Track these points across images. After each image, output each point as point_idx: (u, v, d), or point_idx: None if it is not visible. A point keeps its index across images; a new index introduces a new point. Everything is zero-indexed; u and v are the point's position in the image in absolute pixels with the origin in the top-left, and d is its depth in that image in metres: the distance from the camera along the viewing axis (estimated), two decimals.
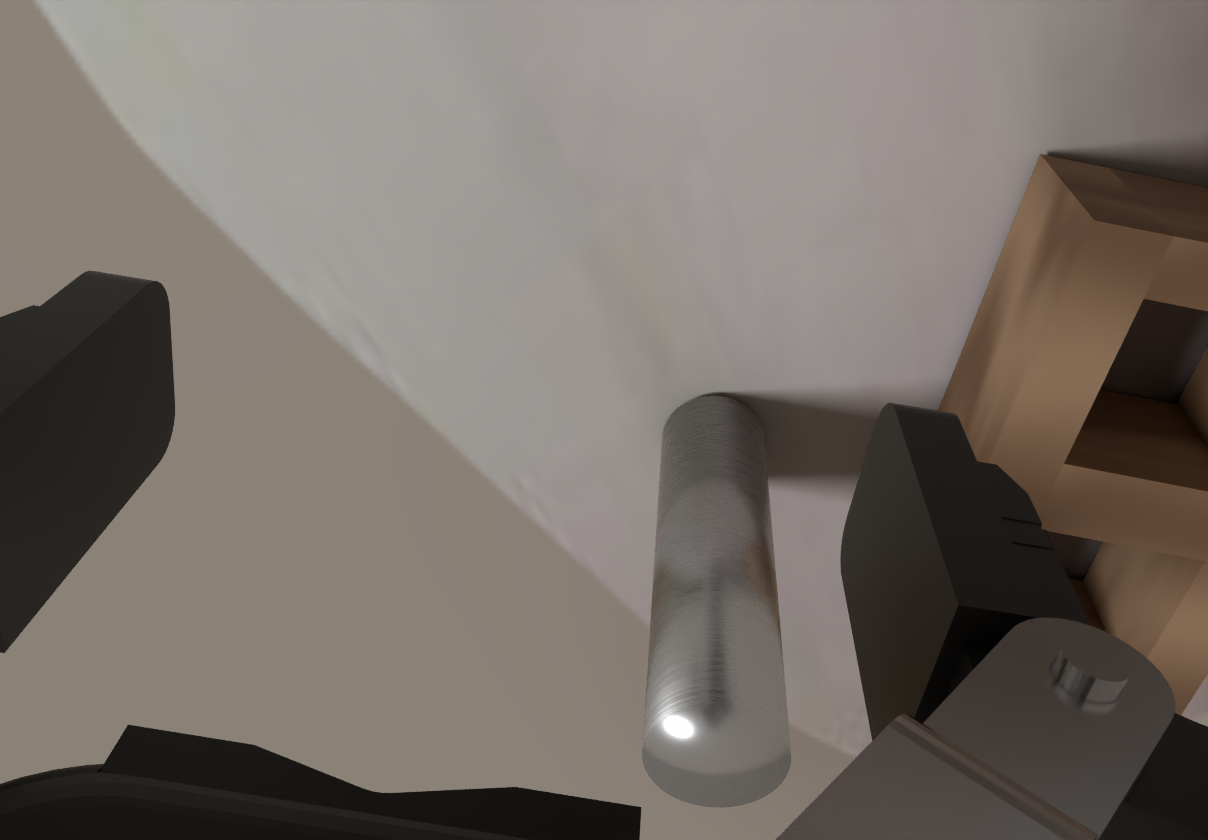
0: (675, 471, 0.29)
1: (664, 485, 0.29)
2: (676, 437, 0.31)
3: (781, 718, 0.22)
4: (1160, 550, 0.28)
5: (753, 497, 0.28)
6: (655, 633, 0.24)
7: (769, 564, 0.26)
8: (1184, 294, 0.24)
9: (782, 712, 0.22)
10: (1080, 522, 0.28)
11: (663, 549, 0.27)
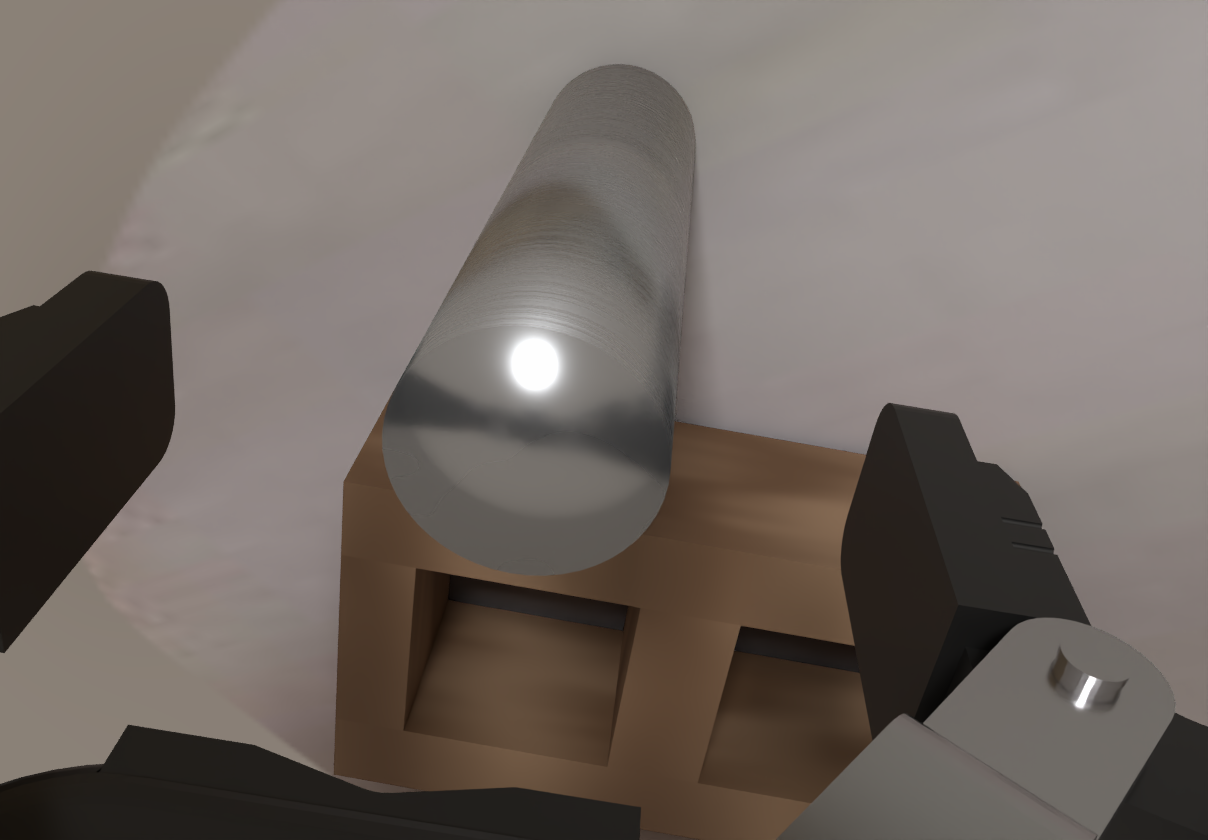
0: (665, 132, 0.18)
1: (641, 117, 0.18)
2: (668, 106, 0.20)
3: None
4: (618, 728, 0.23)
5: None
6: (608, 237, 0.13)
7: None
8: None
9: None
10: (653, 652, 0.22)
11: (635, 171, 0.16)
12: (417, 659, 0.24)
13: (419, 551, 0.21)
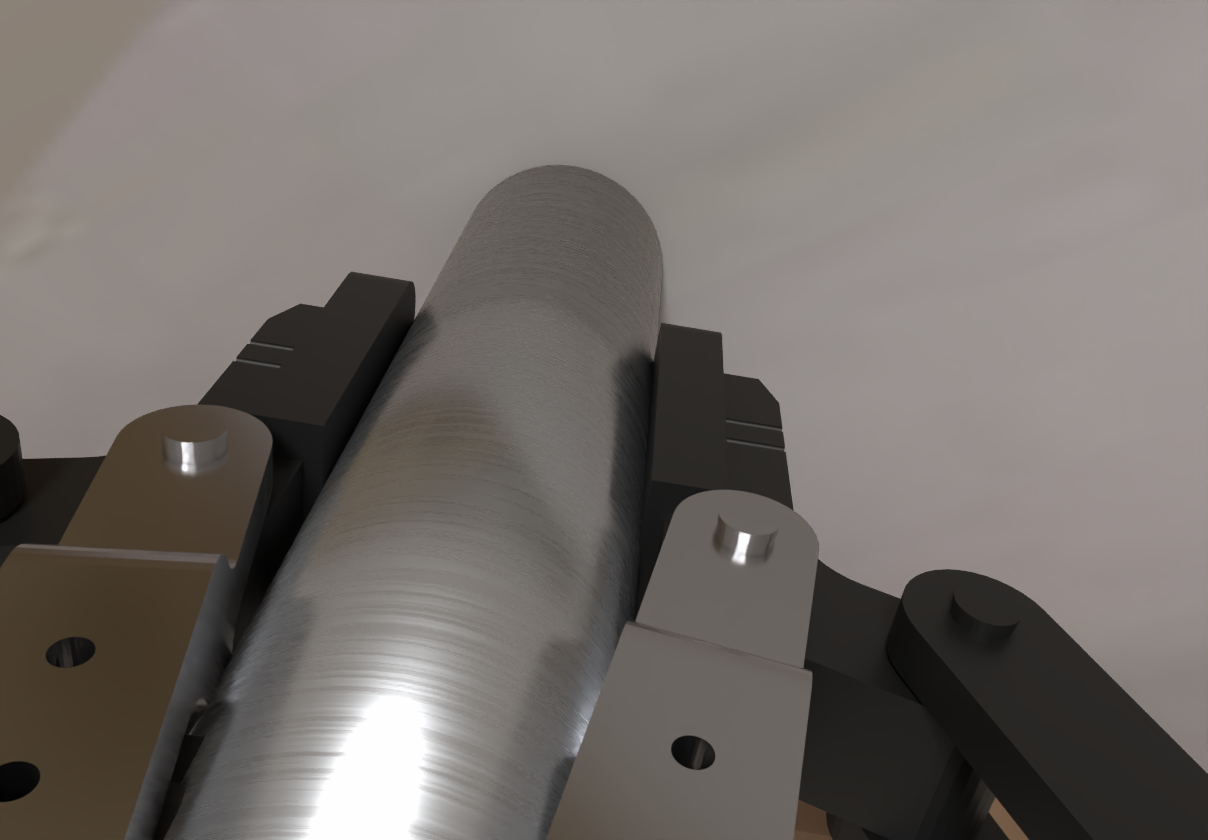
0: (616, 282, 0.13)
1: (581, 263, 0.13)
2: (622, 231, 0.14)
3: None
4: None
5: None
6: (502, 558, 0.08)
7: None
8: None
9: None
10: None
11: (563, 379, 0.10)
12: None
13: None
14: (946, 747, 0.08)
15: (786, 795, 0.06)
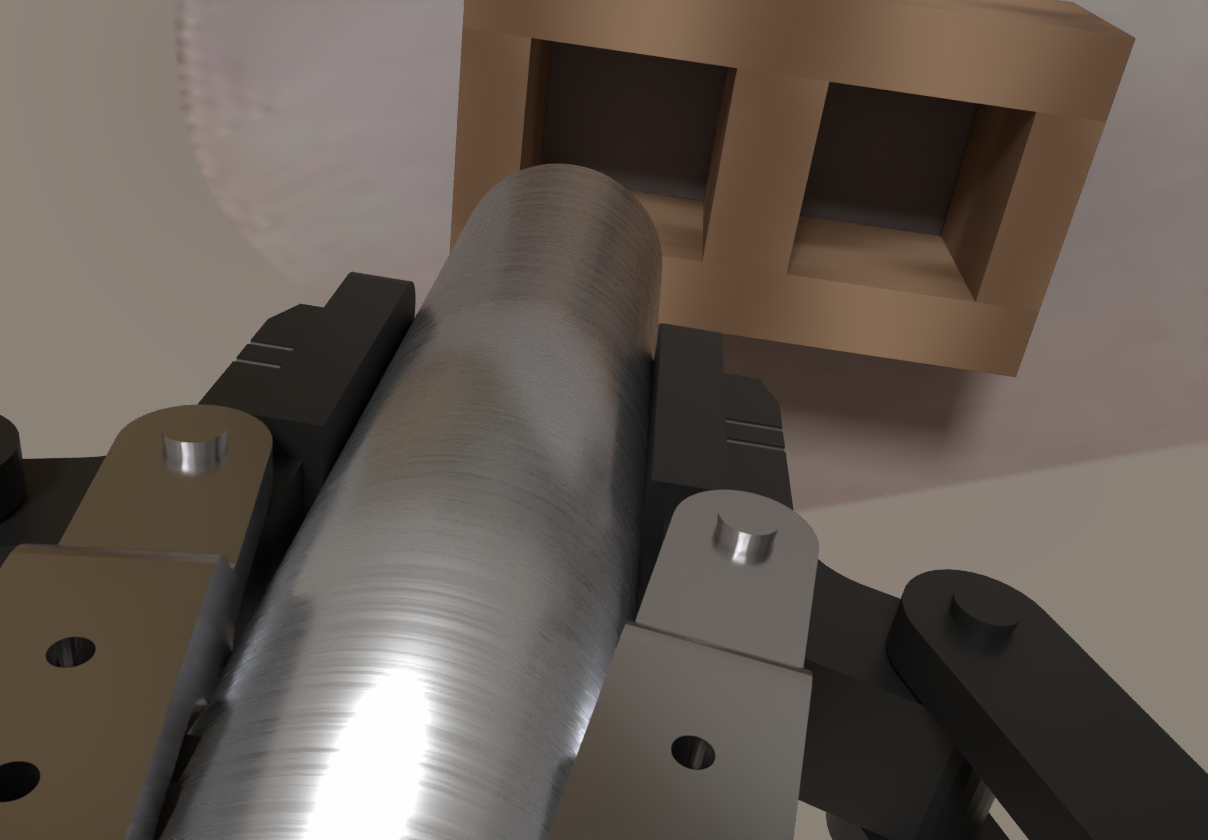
0: (616, 280, 0.13)
1: (581, 261, 0.13)
2: (623, 229, 0.14)
3: None
4: (714, 213, 0.25)
5: None
6: (502, 555, 0.08)
7: None
8: (1038, 150, 0.24)
9: None
10: (747, 120, 0.24)
11: (564, 377, 0.10)
12: None
13: (535, 17, 0.24)
14: (946, 747, 0.08)
15: (786, 795, 0.06)
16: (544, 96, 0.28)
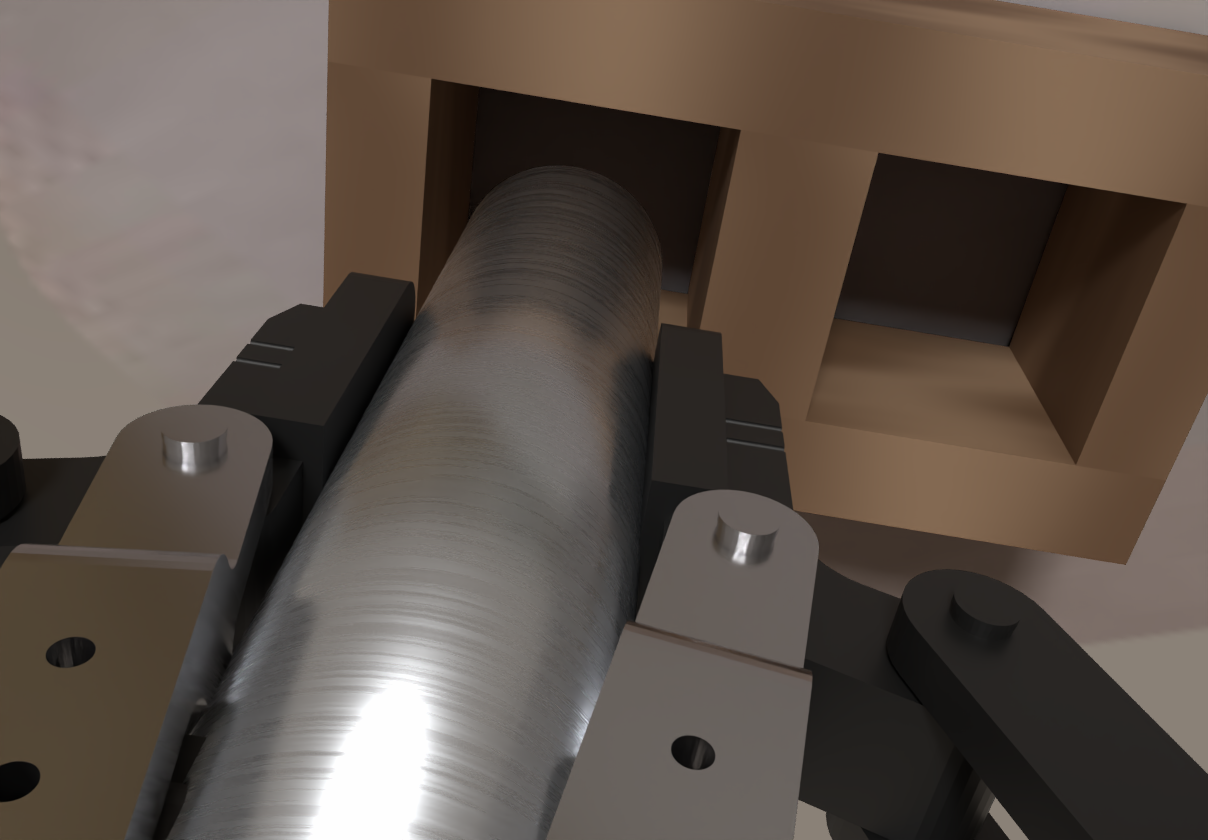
0: (616, 283, 0.13)
1: (581, 263, 0.13)
2: (622, 231, 0.14)
3: None
4: None
5: None
6: (502, 558, 0.08)
7: None
8: (1184, 258, 0.16)
9: None
10: (755, 205, 0.16)
11: (563, 380, 0.10)
12: (430, 266, 0.18)
13: (436, 48, 0.16)
14: (946, 747, 0.08)
15: (786, 795, 0.06)
16: (467, 151, 0.20)
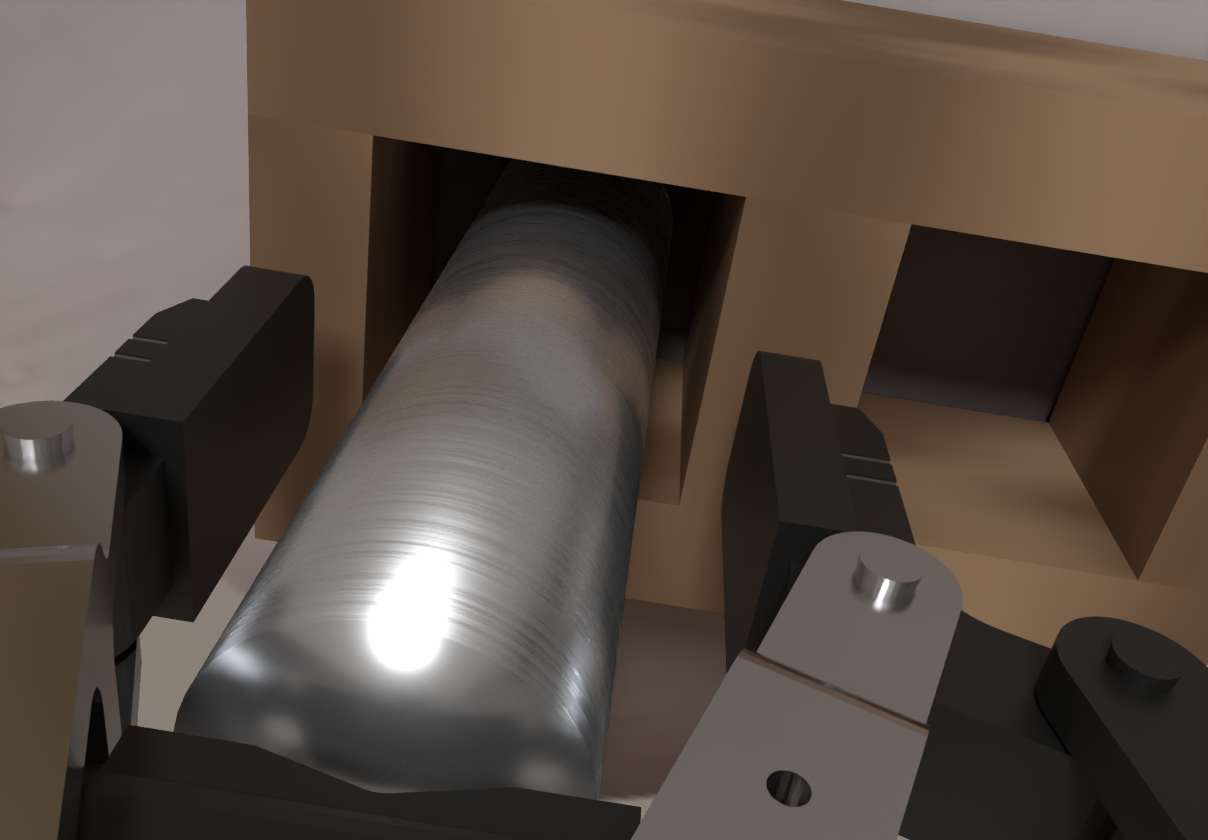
0: (628, 227, 0.15)
1: (597, 209, 0.14)
2: (636, 186, 0.16)
3: None
4: (700, 433, 0.15)
5: None
6: (526, 422, 0.09)
7: None
8: None
9: None
10: (762, 284, 0.14)
11: (580, 298, 0.12)
12: (381, 347, 0.16)
13: (378, 100, 0.13)
14: None
15: None
16: (429, 206, 0.17)
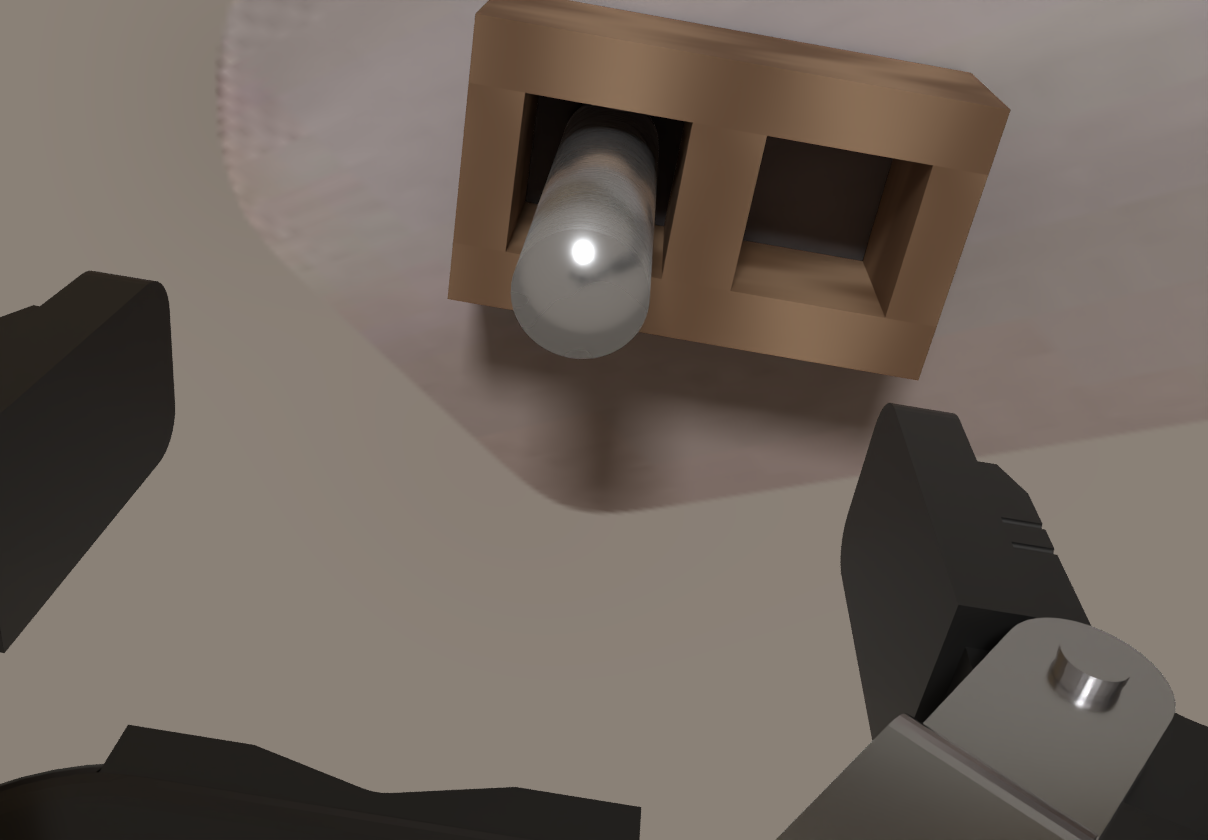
0: (641, 139, 0.31)
1: (627, 130, 0.30)
2: (642, 123, 0.32)
3: None
4: (672, 239, 0.31)
5: None
6: (615, 194, 0.25)
7: None
8: (934, 195, 0.30)
9: None
10: (700, 164, 0.30)
11: (626, 161, 0.28)
12: (515, 200, 0.31)
13: (528, 76, 0.29)
14: None
15: None
16: (531, 135, 0.33)
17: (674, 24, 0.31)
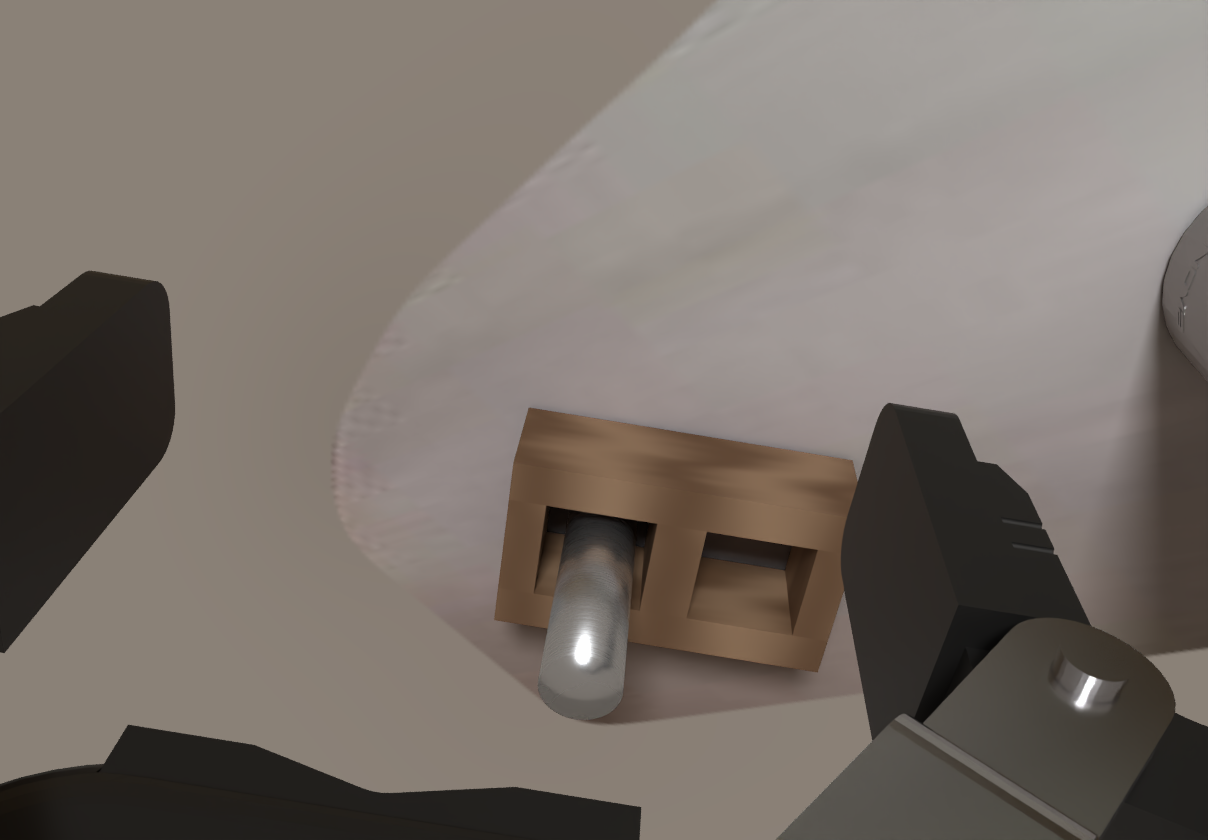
0: (624, 522, 0.45)
1: (614, 517, 0.45)
2: None
3: None
4: (645, 588, 0.46)
5: None
6: (603, 606, 0.40)
7: None
8: (820, 567, 0.44)
9: None
10: (663, 546, 0.44)
11: (612, 560, 0.43)
12: (539, 557, 0.46)
13: (548, 497, 0.44)
14: None
15: None
16: None
17: (647, 437, 0.46)
